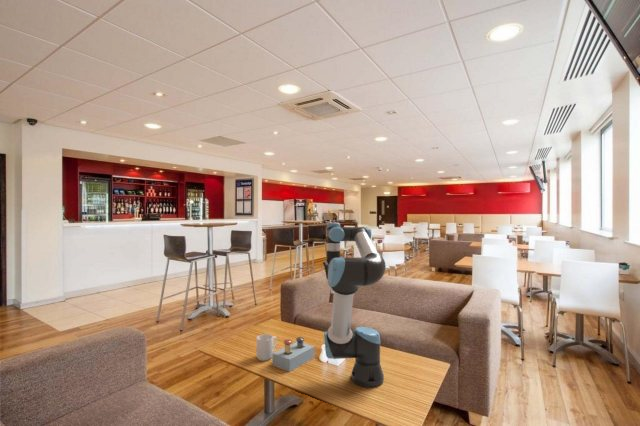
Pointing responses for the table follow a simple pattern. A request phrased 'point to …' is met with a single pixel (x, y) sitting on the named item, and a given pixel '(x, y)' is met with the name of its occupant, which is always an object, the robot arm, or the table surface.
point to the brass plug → (287, 346)
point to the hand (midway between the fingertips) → (333, 292)
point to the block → (293, 357)
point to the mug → (265, 347)
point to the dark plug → (300, 342)
